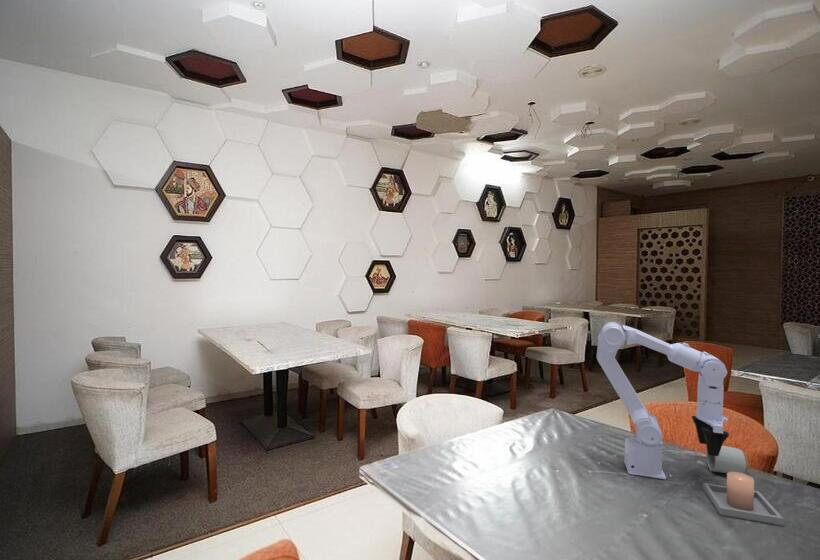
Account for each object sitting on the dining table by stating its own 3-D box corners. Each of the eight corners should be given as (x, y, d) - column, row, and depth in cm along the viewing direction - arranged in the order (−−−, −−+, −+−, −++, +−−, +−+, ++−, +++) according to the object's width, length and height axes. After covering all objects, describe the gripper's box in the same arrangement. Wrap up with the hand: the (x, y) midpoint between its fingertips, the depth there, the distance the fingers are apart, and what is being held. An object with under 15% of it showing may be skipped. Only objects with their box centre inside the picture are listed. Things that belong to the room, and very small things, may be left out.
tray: (720, 515, 97) (720, 508, 97) (703, 489, 108) (703, 482, 108) (783, 526, 93) (783, 518, 92) (758, 498, 104) (758, 491, 104)
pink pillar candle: (731, 508, 99) (732, 479, 99) (723, 497, 104) (723, 470, 103) (757, 512, 97) (758, 483, 97) (747, 501, 102) (748, 473, 102)
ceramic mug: (749, 481, 112) (750, 453, 112) (714, 475, 115) (714, 449, 115) (733, 464, 122) (734, 439, 122) (701, 459, 125) (702, 435, 125)
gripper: (738, 411, 102) (736, 463, 103) (718, 394, 116) (716, 440, 116) (705, 407, 105) (703, 458, 105) (689, 391, 119) (687, 437, 119)
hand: (708, 449), depth 111 cm, fingers open, 7 cm apart
